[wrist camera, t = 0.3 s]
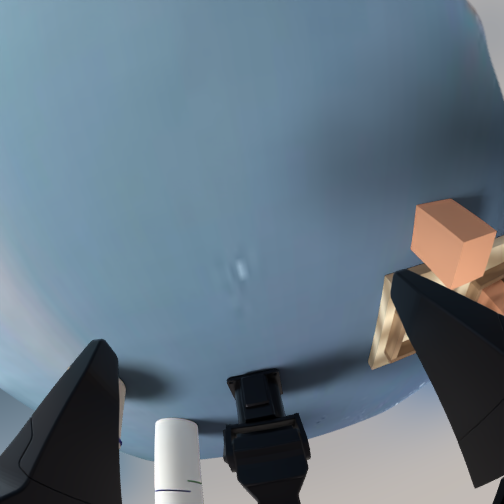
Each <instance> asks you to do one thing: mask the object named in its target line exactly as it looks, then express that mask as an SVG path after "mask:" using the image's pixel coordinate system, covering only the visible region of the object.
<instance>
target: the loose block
mask: <svg viewBox="0 0 504 504" xmlns="http://www.w3.org/2000/svg"><path fill="white" fill-rule="evenodd" d="M496 232H497V231H496V230H495V229H493V228H492V227H491V226H489V225H488V224H487V223H485V222H484V221H483V220H481V219H480V218H478V217H477V216H476V215H474V214H473V213H471V212H470V211H469V210H467V209H466V208H464V207H463V206H461V205H460V204H458V203H457V202H455V201H454V200H452V199H451V198H450V199H445V200H440V201H435V202H430V203H425V204H420V205H416V213H415V222H414V230H413V237H412V244H411V250H412V251H413V252H414V253H415V254H416V255H417V256H418V257H419V258H420V259H421V260H422V261H423V262H424V263H425V264H426V265H427V266H428V267H429V268H430V269H431V271H432V272H433V273H434V274H435V275H436V276H437V277H438V278H439V279H440V280H441V281H442V282H443V284H444V285H445V286H446V287H447V288H449V289H451V290H453V289H455V288H457V287H460V286H462V285H464V284H467V283H469V282H471V281H473V280H475V279H478V278H480V277H482V276H483V274H484V272H485V269H486V266H487V263H488V259H489V256H490V253H491V250H492V246H493V243H494V239H495V236H496Z"/></svg>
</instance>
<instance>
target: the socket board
mask: <svg viewBox="0 0 504 504" xmlns="http://www.w3.org/2000/svg"><path fill="white" fill-rule="evenodd" d="M408 270H410V271H412V272H415V273H417V274H419V275H421V276H423V277H425V278H428V279H430V280H432V281H434V282H436V283H438V284H440V285H443V286H445V285H444V284H443V282H442V281H441V280H440V279H439V278H438V277H437V276H436V275H435V274H434V273H433V272H432V271H431V269H430V268H429V267H428V266H427V265H426V264H425V263H424V264H421V265H418V266H415V267H411V268H408ZM393 274H394V273H392V274H389V275H385V279H384V286H383V292H382V298H381V304H380V309H379V314H378V319H377V324H376V329H375V334H374V338H373V343H372V347H371V351H370V356H369V360H368V363H369V365H370V367H371V369H372V370H373V369H376V368H378V367H381V366H384V365H386V364H389V363H393V362H395V361H398V360H400V359H403V358H405V357H407V356H410V355H412V354H414V353H416V352H415V350H414V348H413V346H412V344H411V342H410V340H409V338H408V336H407V334H406V332H405V329H404V327H403V324H402V322H401V320H400V317H399V315H398V313H397V311H396V308H395V306H394V304H393V302H392V299H391V295H390V291H391V285H392V278H393ZM445 287H446V286H445ZM453 291H455V292H457V293H459V294H461V295H463V296H465V297H467V298H470V299H472V300H474V301H476V302H478V303H480V304H482V305H484V306H486V307H488V308H489V309H491V310H493V311H495V312H497V313H498V314H501V315H503V316H504V235H503V236H501V237H498V238H495V239H494V243H493V246H492V250H491V253H490V256H489V259H488V263H487V266H486V269H485V272H484V274H483V276H482V277H480V278H478V279H475V280H473V281H471V282H469V283H467V284H464V285H462V286H460V287H457V288H455V289H453Z"/></svg>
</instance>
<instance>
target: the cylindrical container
mask: <svg viewBox="0 0 504 504" xmlns="http://www.w3.org/2000/svg"><path fill="white" fill-rule="evenodd" d="M201 484H202V481H201V468H200V454H199V439H198V426H197V424H196V423H194V422H192V421H190V420H186V419H181V418H164V419H160V420H158V421H157V422H156V424H155V504H204V503H203V491H202V485H201Z"/></svg>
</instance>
